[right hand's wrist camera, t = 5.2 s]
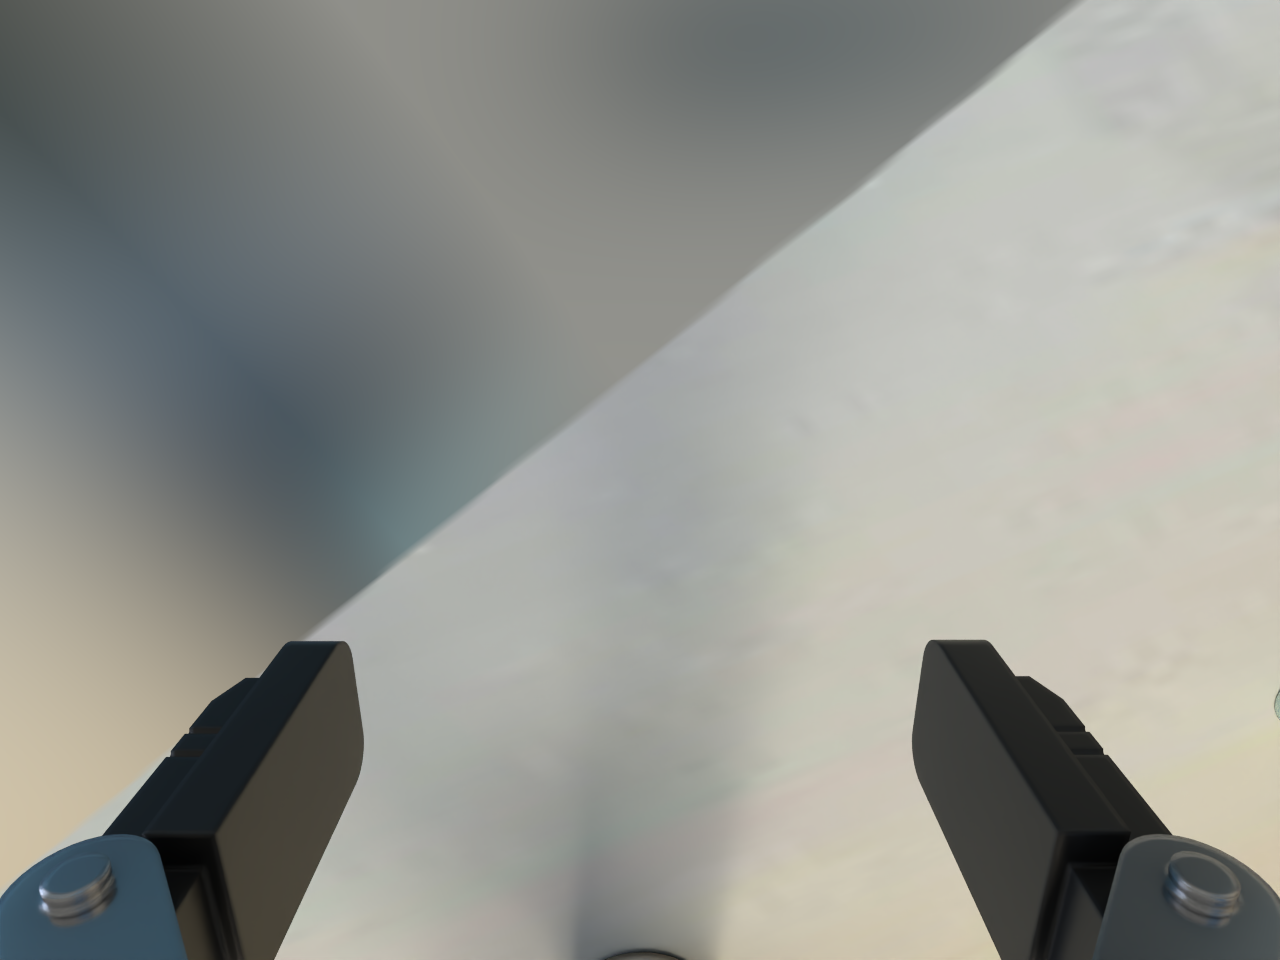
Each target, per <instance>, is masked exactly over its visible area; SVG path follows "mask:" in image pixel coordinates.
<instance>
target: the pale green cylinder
mask: <svg viewBox="0 0 1280 960" xmlns="http://www.w3.org/2000/svg"><path fill="white" fill-rule="evenodd" d="M1275 711H1276V714H1277V716H1278V718H1279V719H1280V692H1279V694H1278V696H1277V698H1276V702H1275Z"/></svg>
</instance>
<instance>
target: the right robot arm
mask: <svg viewBox="0 0 1280 960" xmlns="http://www.w3.org/2000/svg"><path fill="white" fill-rule="evenodd" d="M363 750H364V736H363V728H362V721H361V714H360V707H359V700H358V693H357V686H356V679H355V672H354V665H353V658H352V653H351V650H350V648H349V646H348V644H347V643H346V642H343V641H290V642H288V643H286V644H285V645H284V646H283V647H282V649H281V650H280V651H279V653H278V654H277V655H276V657H275V658H274V659H273V661H272V662H271V663H270V665H269V666H268V667H267V669H266V670H265V671H264V672H263V674H262V675H261V676H260V678H245V679H243V680H242V681H241V682H239V683H238V684H236V685H235V686H233V687H232V688H230V689H229V690H227V691H226V692H224V693H223V694H221V695H220V696H218V697H217V698H215V699H214V700H212V701H211V702H210V704H209V705H208V706H207V707H206V709H205V710H204V711H203V712H202V714H201V715H200V716H199V717H198V718H197V720H196V721H195V722H194V723H193V725H192V726H191V727H190V728H189V734H184V736H183V737H182V738H181V739H180V741H179V742H178V743H177V744H176V745H175V747H174V748H173V749H172V750H171V756H170V757H166V758H165V759H164V760H163V761H162V763H161V764H160V765H159V766H158V768H157V769H156V770H155V771H154V773H153V774H152V775H151V776H150V777H149V779H148V780H147V781H146V782H145V784H144V785H143V786H142V787H141V789H140V790H139V791H138V792H137V793H136V795H135V796H134V797H133V798H132V800H131V801H130V802H129V803H128V805H127V806H126V807H125V808H124V809H123V811H122V812H121V813H120V814H119V816H118V817H117V818H116V819H115V821H114V822H113V823H112V824H111V825H110V827H109V828H108V829H107V830H106V832H105V833H104V834H103V835H102V836H100V837H96V838H92V839H88V840H84V841H82V842H79V843H76V844H73V845H71V846H68V847H66V848H64V849H62V850H59V851H57V852H56V853H54V854H52V855H50V856H48V857H46V858H45V859H43V860H42V861H40V862H38V863H37V864H35V865H34V866H32V867H31V868H30V869H29V870H27V871H26V872H25V873H23V874H22V875H21V876H20V877H19V878H18V879H17V880H16V881H15V882H14V883H13V884H11V886H10V887H9V888H8V889H7V890H6V892H5V893H4V894H3V895H2V897H1V898H0V960H274V959H275V957H276V954H277V952H278V950H279V948H280V946H281V944H282V942H283V939H284V937H285V935H286V933H287V931H288V929H289V927H290V924H291V922H292V920H293V918H294V916H295V914H296V912H297V909H298V907H299V905H300V903H301V901H302V899H303V896H304V894H305V892H306V890H307V888H308V886H309V884H310V881H311V879H312V877H313V875H314V873H315V871H316V869H317V866H318V864H319V862H320V860H321V858H322V856H323V854H324V851H325V849H326V847H327V845H328V843H329V841H330V839H331V836H332V834H333V832H334V830H335V828H336V826H337V823H338V821H339V819H340V817H341V815H342V813H343V811H344V808H345V806H346V804H347V802H348V800H349V798H350V796H351V793H352V791H353V789H354V787H355V785H356V782H357V780H358V777H359V774H360V770H361V765H362V760H363ZM912 750H913V759H914V765H915V769H916V773H917V776H918V779H919V781H920V784H921V786H922V788H923V790H924V792H925V795H926V797H927V799H928V801H929V803H930V805H931V808H932V810H933V812H934V814H935V816H936V818H937V821H938V823H939V825H940V827H941V829H942V831H943V834H944V836H945V838H946V840H947V842H948V845H949V847H950V849H951V851H952V853H953V855H954V858H955V860H956V862H957V864H958V866H959V868H960V871H961V873H962V875H963V877H964V879H965V881H966V884H967V886H968V888H969V890H970V892H971V895H972V897H973V899H974V901H975V903H976V905H977V908H978V910H979V912H980V914H981V916H982V918H983V921H984V923H985V925H986V927H987V929H988V931H989V934H990V936H991V938H992V940H993V942H994V945H995V947H996V949H997V951H998V953H999V955H1000V958H1001V960H1280V898H1279V897H1278V895H1277V894H1276V893H1275V892H1274V890H1273V889H1272V888H1271V887H1270V886H1269V884H1267V883H1266V882H1265V881H1264V880H1263V879H1262V878H1261V877H1260V876H1259V875H1258V874H1257V873H1255V872H1254V871H1253V870H1251V869H1250V868H1249V867H1248V866H1246V865H1245V864H1243V863H1242V862H1240V861H1238V860H1237V859H1235V858H1234V857H1232V856H1230V855H1228V854H1226V853H1224V852H1223V851H1221V850H1218V849H1216V848H1214V847H1212V846H1209V845H1207V844H1204V843H1201V842H1198V841H1196V840H1192V839H1188V838H1184V837H1180V836H1174V835H1172V834H1171V833H1170V831H1169V830H1168V829H1167V828H1166V826H1165V825H1164V824H1163V823H1162V821H1161V820H1160V819H1159V818H1158V816H1157V815H1156V814H1155V813H1154V811H1153V810H1152V809H1151V808H1150V807H1149V805H1148V804H1147V803H1146V802H1145V800H1144V799H1143V798H1142V797H1141V795H1140V794H1139V793H1138V792H1137V790H1136V789H1135V788H1134V787H1133V785H1132V784H1131V783H1130V782H1129V780H1128V779H1127V778H1126V777H1125V775H1124V774H1123V773H1122V772H1121V771H1120V769H1119V768H1118V767H1117V766H1116V764H1115V763H1114V762H1113V761H1112V759H1111V758H1110V757H1109V756H1108V755H1104V753H1103V748H1102V747H1101V746H1100V744H1099V743H1098V742H1097V741H1096V739H1095V738H1094V737H1093V736H1092V734H1091V733H1090V732H1086V731H1085V726H1084V725H1083V723H1082V722H1081V721H1080V720H1079V718H1078V717H1077V716H1076V715H1075V713H1074V712H1073V711H1072V710H1071V708H1070V707H1069V706H1068V705H1067V703H1066V702H1065V701H1064V700H1063V699H1062V698H1060V697H1059V696H1057V695H1056V694H1055V693H1053V692H1052V691H1050V690H1049V689H1047V688H1046V687H1044V686H1043V685H1041V684H1040V683H1038V682H1037V681H1035V680H1034V679H1033V678H1031V677H1030V676H1015V675H1014V674H1013V672H1012V671H1011V670H1010V668H1009V667H1008V666H1007V664H1006V663H1005V662H1004V660H1003V659H1002V658H1001V656H1000V655H999V654H998V652H997V651H996V650H995V648H994V647H993V646H992V644H991V643H990V642H988V641H986V640H931V641H929V642H928V644H927V645H926V647H925V651H924V655H923V661H922V668H921V675H920V683H919V690H918V697H917V704H916V711H915V718H914V725H913V733H912ZM606 960H678V959H676V958H673V957H670V956H667V955H663V954H657V953H648V952H636V953H627V954H621V955H617V956H614V957H611V958H608V959H606Z"/></svg>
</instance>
